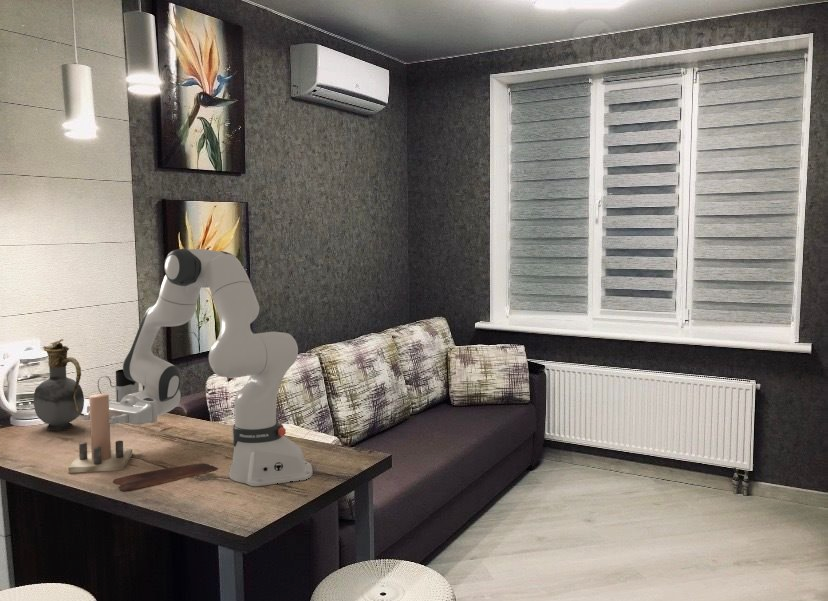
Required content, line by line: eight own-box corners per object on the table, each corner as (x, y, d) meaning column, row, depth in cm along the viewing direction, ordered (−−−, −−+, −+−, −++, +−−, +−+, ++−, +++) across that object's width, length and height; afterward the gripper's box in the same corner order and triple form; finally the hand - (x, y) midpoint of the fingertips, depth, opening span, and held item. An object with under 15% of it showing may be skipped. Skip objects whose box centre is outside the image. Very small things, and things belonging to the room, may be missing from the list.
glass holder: (142, 412, 251) (141, 371, 249) (99, 417, 244) (98, 375, 242) (138, 407, 258) (138, 367, 257) (97, 411, 252) (96, 370, 250)
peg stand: (132, 453, 205) (131, 434, 204) (123, 469, 191) (122, 448, 191) (81, 456, 202) (80, 436, 201) (68, 472, 188) (67, 451, 188)
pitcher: (60, 420, 239) (57, 334, 236) (96, 429, 229) (93, 339, 226) (29, 428, 229) (26, 339, 226) (66, 437, 220) (63, 344, 217)
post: (112, 454, 199) (110, 393, 197) (109, 460, 195) (106, 397, 193) (94, 455, 198) (91, 394, 196) (90, 461, 194) (87, 398, 191)
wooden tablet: (206, 458, 200) (220, 463, 192) (206, 465, 200) (221, 471, 192) (110, 478, 183) (122, 485, 175) (110, 487, 183) (122, 493, 175)
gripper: (108, 394, 211) (70, 404, 198) (160, 401, 203) (124, 412, 190) (109, 414, 212) (71, 425, 199) (161, 422, 204) (125, 434, 191)
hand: (97, 419), depth 195 cm, fingers open, 8 cm apart
